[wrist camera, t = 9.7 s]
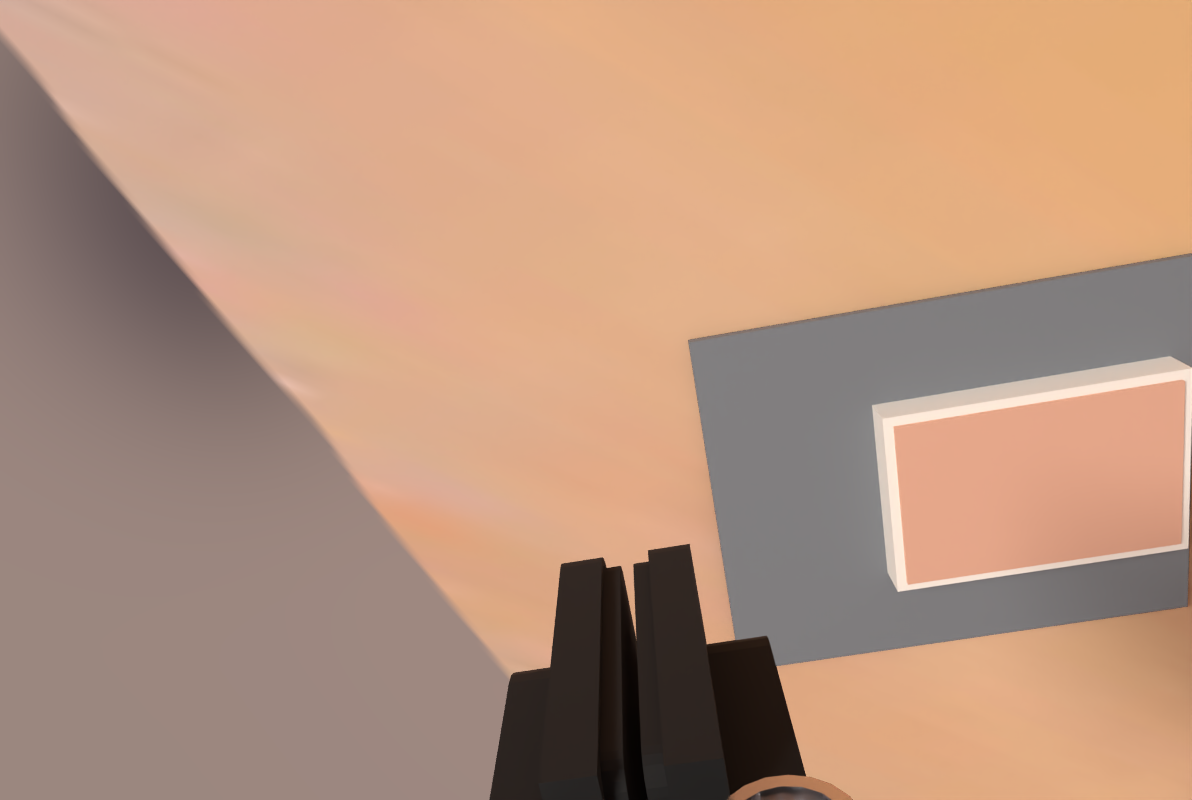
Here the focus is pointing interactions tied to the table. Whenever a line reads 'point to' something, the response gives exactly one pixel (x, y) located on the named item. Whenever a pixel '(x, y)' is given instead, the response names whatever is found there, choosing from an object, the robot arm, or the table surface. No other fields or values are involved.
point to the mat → (849, 460)
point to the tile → (1036, 473)
